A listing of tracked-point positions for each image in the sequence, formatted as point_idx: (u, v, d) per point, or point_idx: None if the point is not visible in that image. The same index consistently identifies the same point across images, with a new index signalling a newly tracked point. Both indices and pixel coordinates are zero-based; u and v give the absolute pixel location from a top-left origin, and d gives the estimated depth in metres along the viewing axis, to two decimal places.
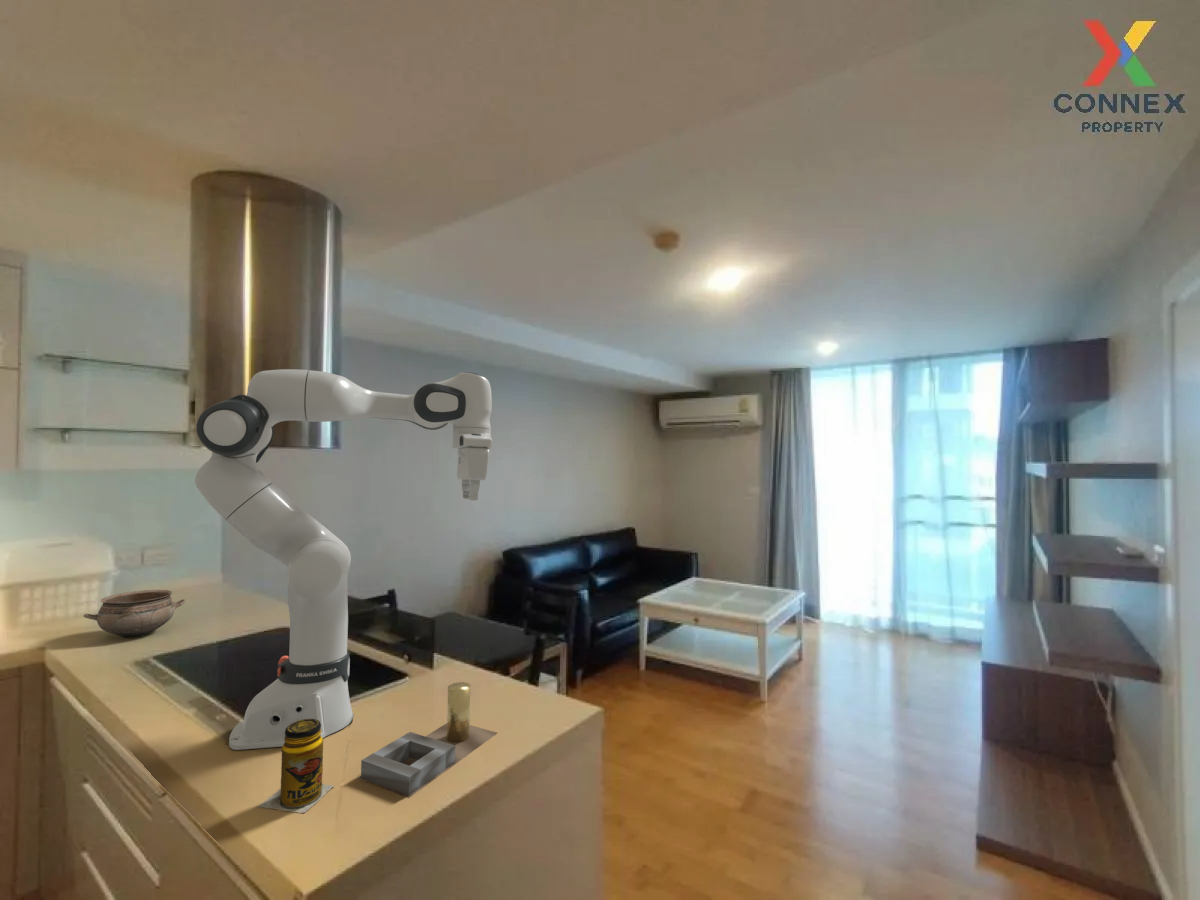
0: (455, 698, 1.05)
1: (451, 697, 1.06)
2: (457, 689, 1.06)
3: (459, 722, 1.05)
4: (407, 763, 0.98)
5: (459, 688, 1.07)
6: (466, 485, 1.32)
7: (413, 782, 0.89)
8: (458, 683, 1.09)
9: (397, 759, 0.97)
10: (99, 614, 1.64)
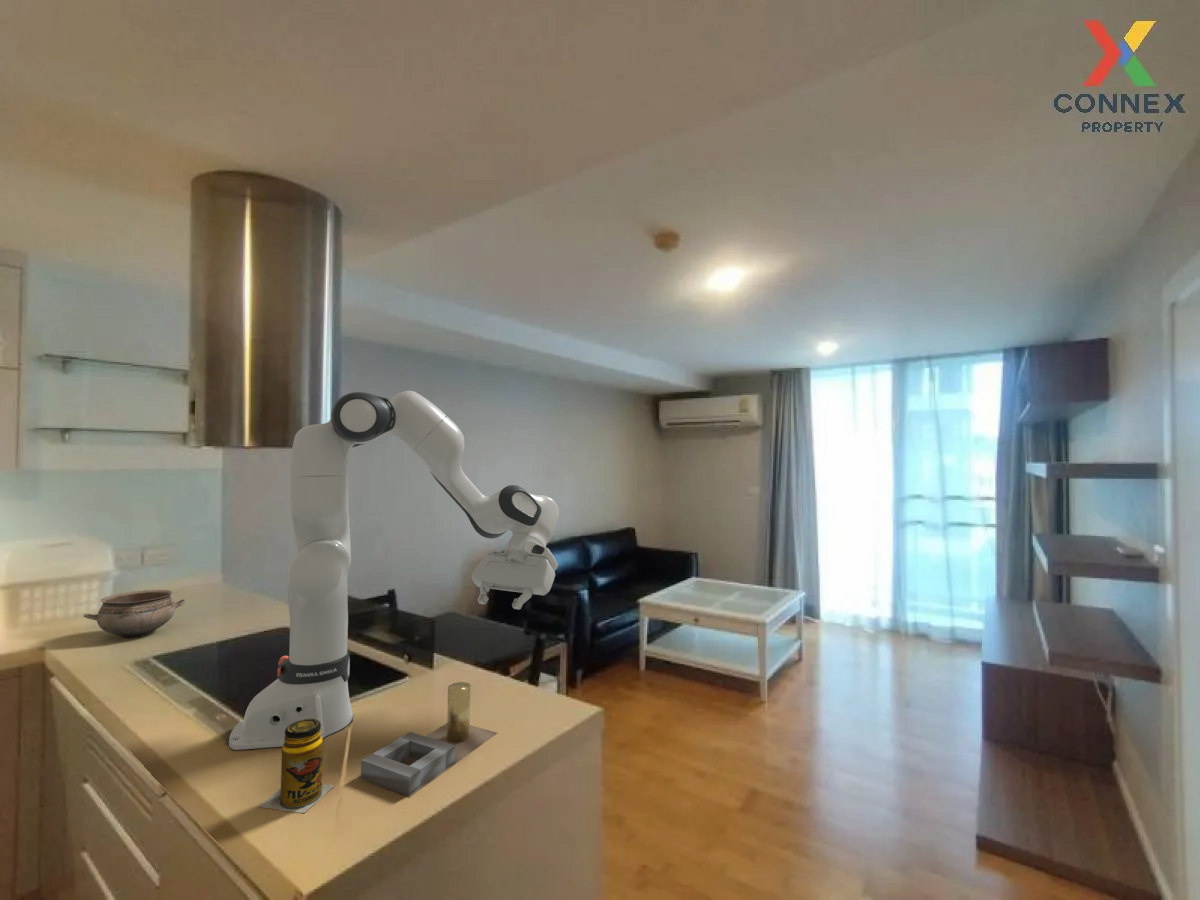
0: (455, 698, 1.05)
1: (451, 697, 1.06)
2: (457, 689, 1.06)
3: (459, 722, 1.05)
4: (407, 763, 0.98)
5: (459, 687, 1.07)
6: (484, 590, 1.24)
7: (413, 782, 0.89)
8: (458, 683, 1.09)
9: (397, 759, 0.97)
10: (99, 614, 1.64)
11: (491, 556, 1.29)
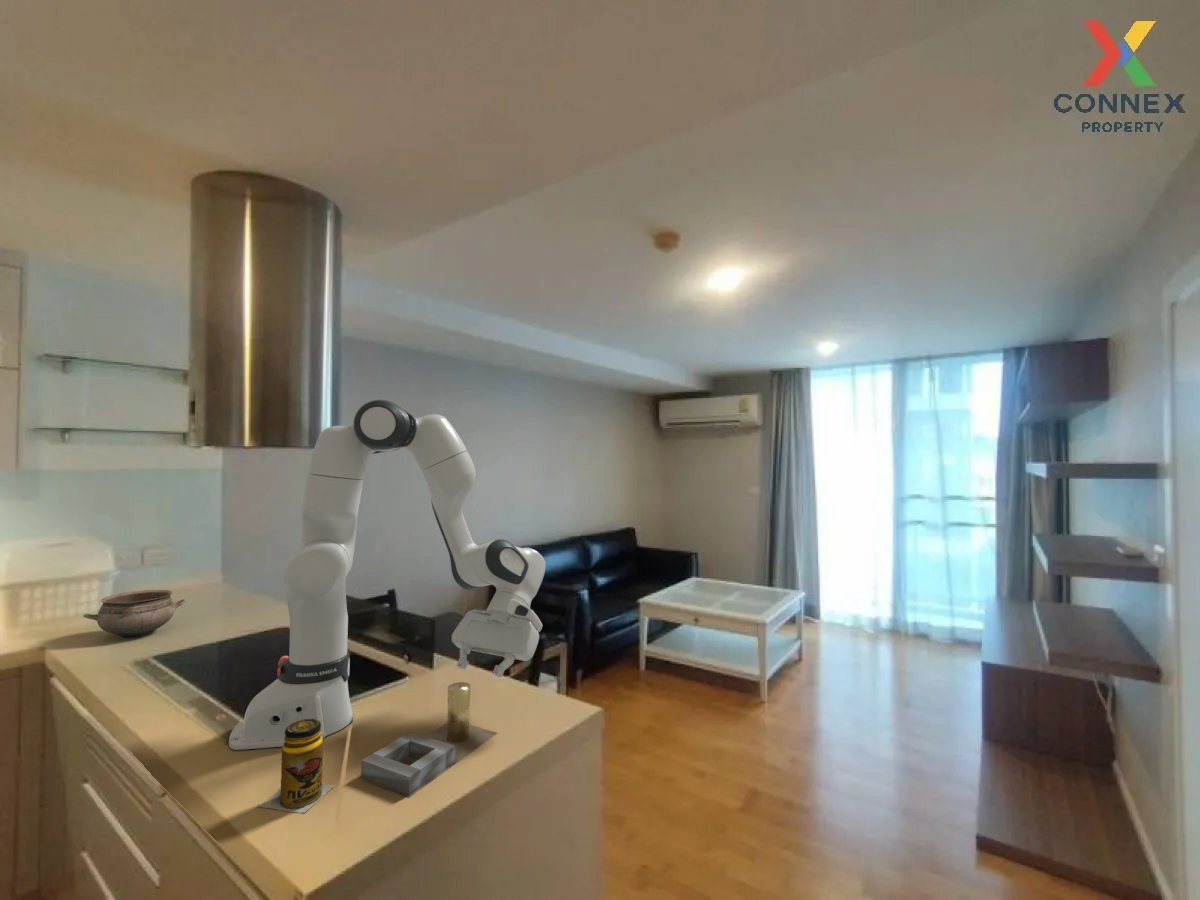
0: (455, 698, 1.05)
1: (451, 697, 1.06)
2: (457, 689, 1.06)
3: (459, 722, 1.05)
4: (407, 763, 0.98)
5: (459, 687, 1.07)
6: (464, 653, 1.18)
7: (413, 782, 0.89)
8: (458, 683, 1.09)
9: (397, 759, 0.97)
10: (99, 614, 1.64)
11: (473, 614, 1.23)
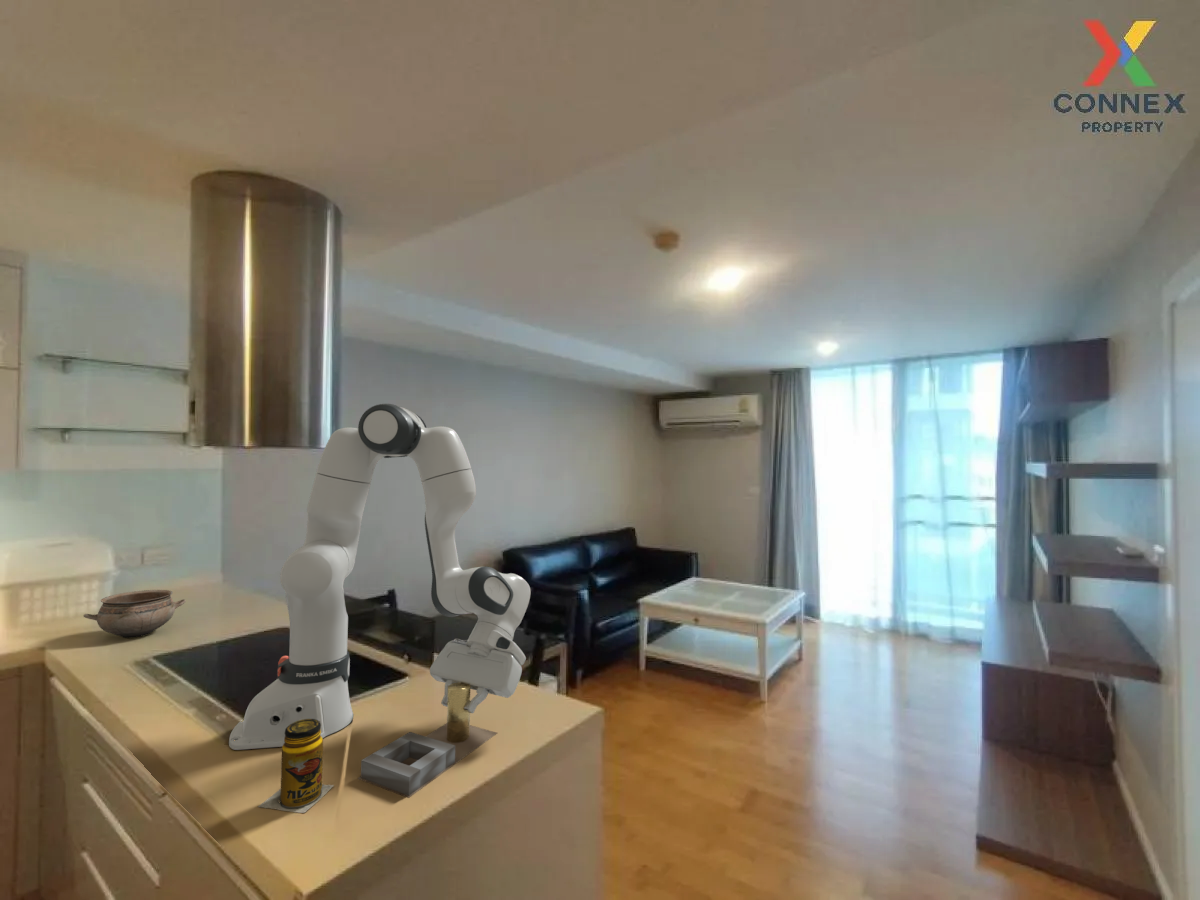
0: (455, 698, 1.05)
1: (451, 697, 1.06)
2: (457, 689, 1.06)
3: (459, 722, 1.05)
4: (407, 763, 0.98)
5: (459, 687, 1.07)
6: None
7: (413, 782, 0.89)
8: (458, 683, 1.09)
9: (397, 759, 0.97)
10: (99, 614, 1.64)
11: (453, 645, 1.16)
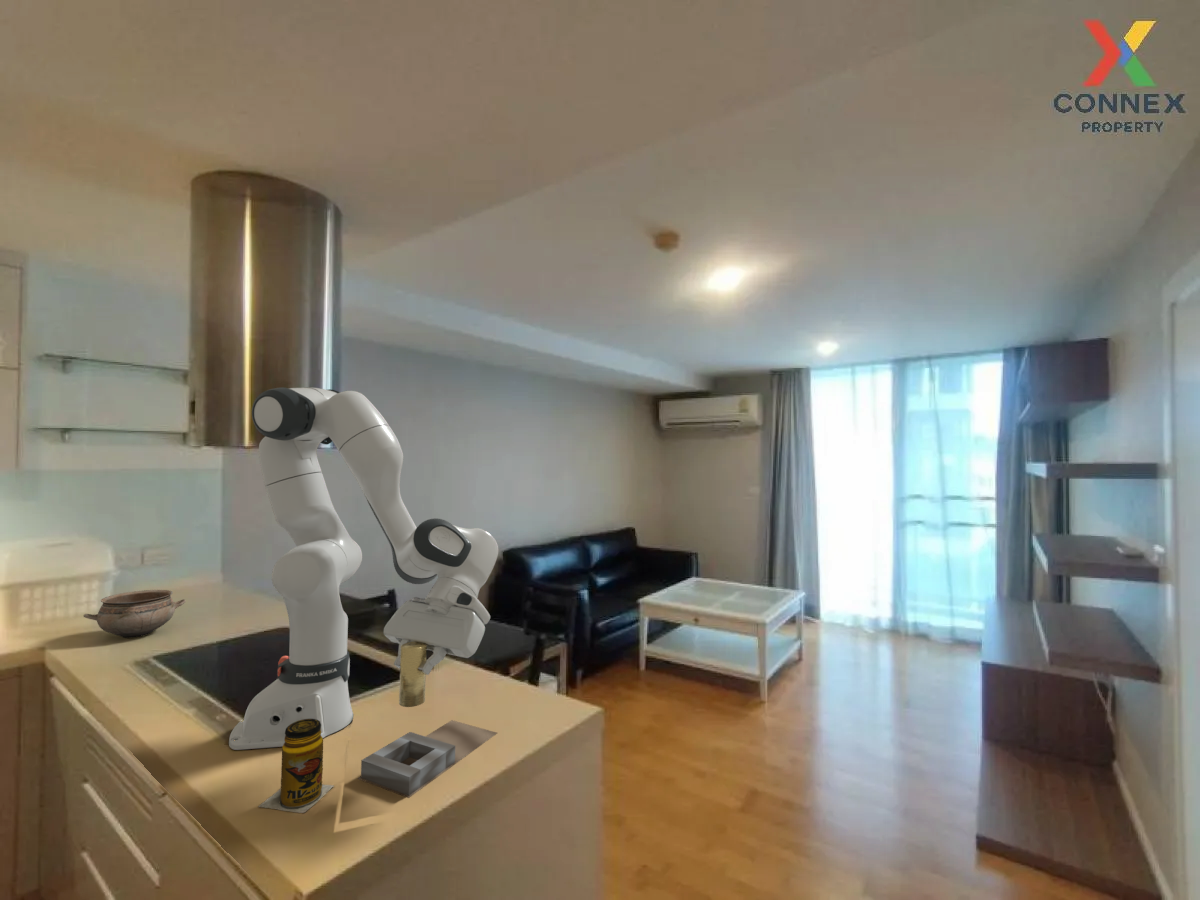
0: (408, 657, 0.94)
1: (404, 656, 0.95)
2: (411, 647, 0.95)
3: (413, 684, 0.94)
4: (407, 763, 0.98)
5: (413, 646, 0.96)
6: None
7: (413, 782, 0.89)
8: (413, 642, 0.98)
9: (397, 759, 0.97)
10: (99, 614, 1.64)
11: (410, 603, 1.06)
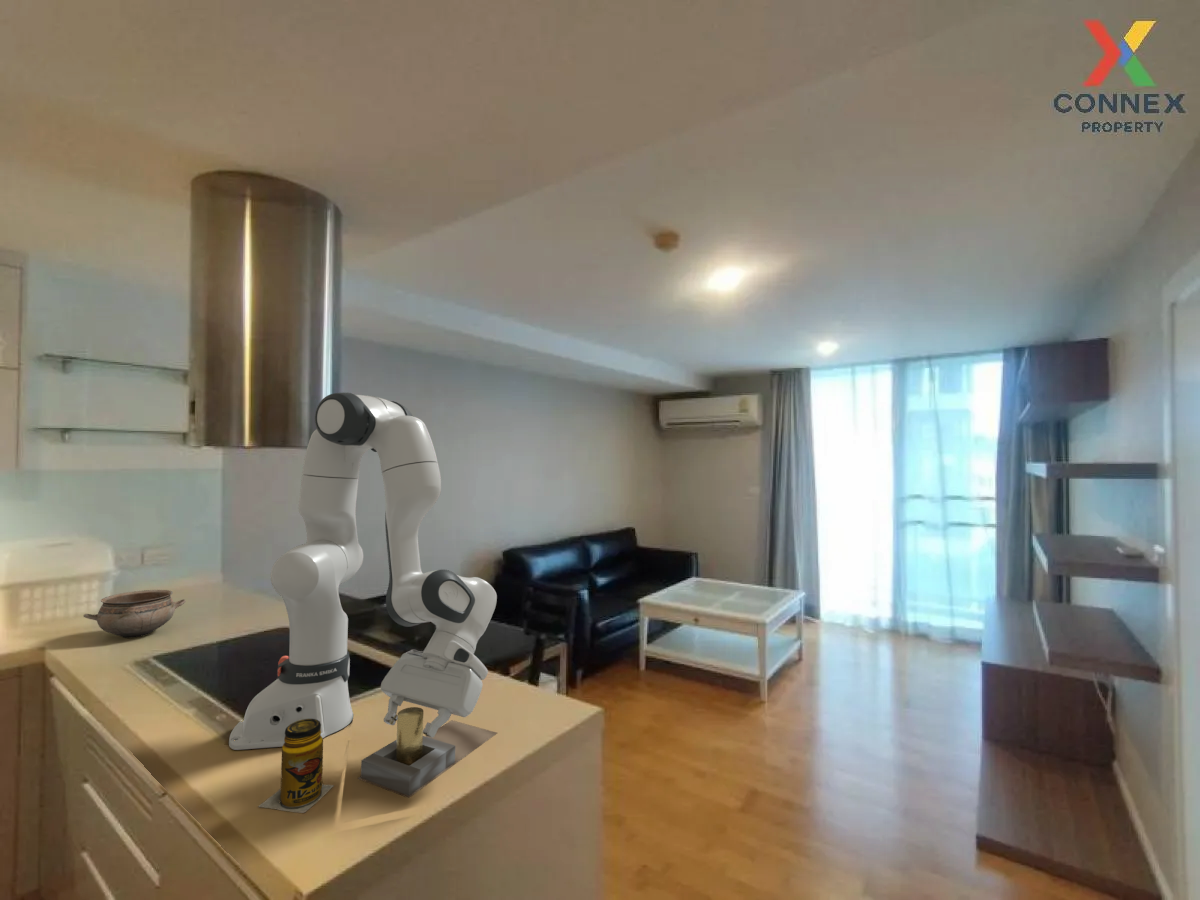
0: (405, 726, 0.94)
1: (400, 724, 0.94)
2: (408, 715, 0.95)
3: (409, 753, 0.94)
4: None
5: (410, 714, 0.95)
6: (395, 705, 1.00)
7: (413, 782, 0.89)
8: (410, 708, 0.98)
9: None
10: (99, 614, 1.64)
11: (407, 657, 1.05)
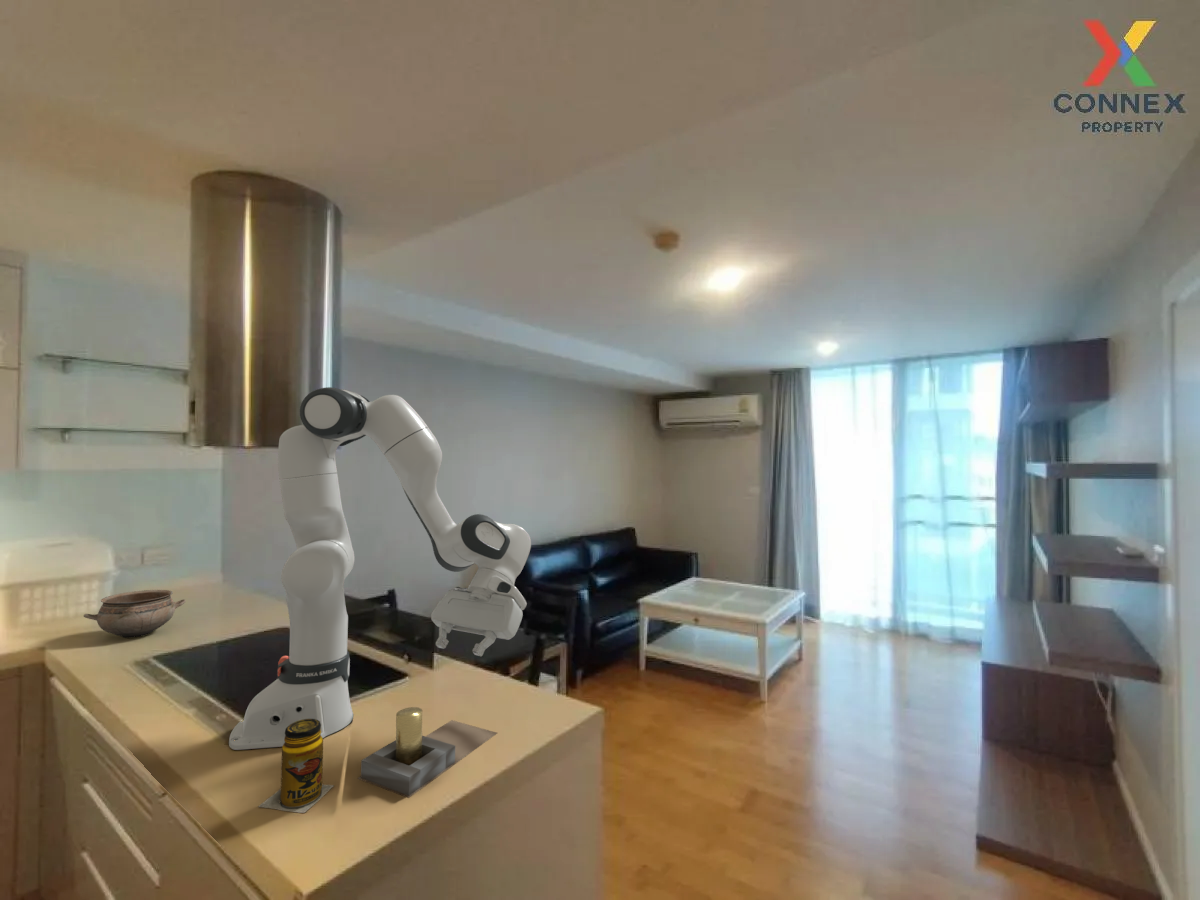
0: (404, 726, 0.94)
1: (399, 725, 0.94)
2: (407, 715, 0.95)
3: (409, 753, 0.94)
4: None
5: (409, 714, 0.95)
6: (444, 632, 1.12)
7: (413, 782, 0.89)
8: (409, 708, 0.98)
9: None
10: (99, 614, 1.64)
11: (454, 592, 1.17)
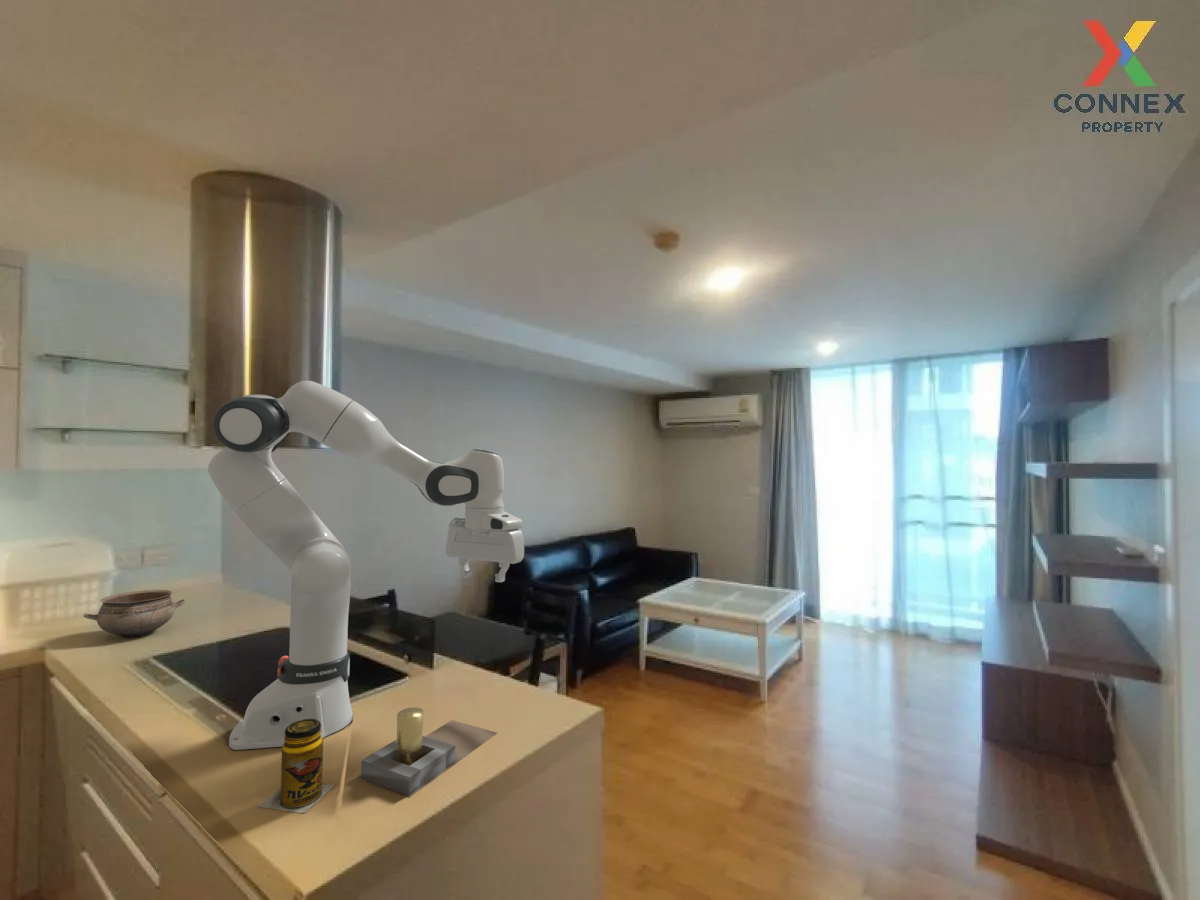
0: (405, 727, 0.94)
1: (400, 725, 0.94)
2: (408, 716, 0.95)
3: (410, 753, 0.94)
4: None
5: (410, 715, 0.95)
6: (464, 563, 1.27)
7: (413, 782, 0.89)
8: (410, 709, 0.97)
9: None
10: (99, 614, 1.64)
11: (455, 528, 1.26)
